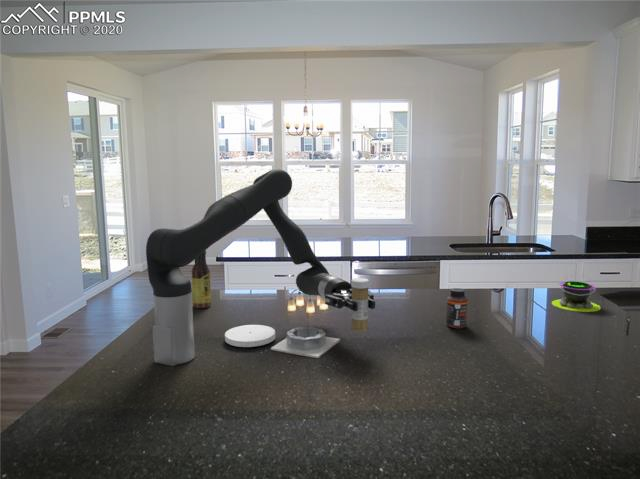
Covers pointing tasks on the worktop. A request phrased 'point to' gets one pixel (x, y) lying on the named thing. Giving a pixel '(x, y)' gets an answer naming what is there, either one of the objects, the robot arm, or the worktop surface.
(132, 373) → the worktop surface
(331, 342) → the base plate
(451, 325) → the supplement bottle
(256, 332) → the plastic lid
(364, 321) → the sprinkles bottle
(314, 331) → the ring
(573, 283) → the toy cauldron
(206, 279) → the sauce bottle
